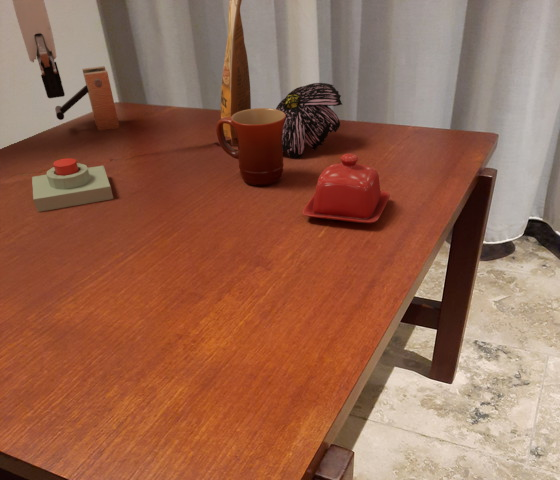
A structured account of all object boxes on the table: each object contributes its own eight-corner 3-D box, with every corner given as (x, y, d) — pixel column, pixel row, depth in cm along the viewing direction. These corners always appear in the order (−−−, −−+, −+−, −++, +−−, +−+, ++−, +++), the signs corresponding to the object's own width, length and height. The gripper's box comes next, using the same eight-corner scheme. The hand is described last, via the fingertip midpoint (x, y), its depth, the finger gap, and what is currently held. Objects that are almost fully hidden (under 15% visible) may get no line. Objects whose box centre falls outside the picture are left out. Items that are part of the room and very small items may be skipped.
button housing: (37, 212, 88) (29, 188, 85) (36, 189, 95) (28, 166, 92) (113, 199, 91) (107, 175, 88) (106, 177, 98) (100, 154, 95)
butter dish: (321, 192, 90) (321, 138, 84) (391, 199, 87) (397, 144, 81) (299, 222, 82) (298, 165, 76) (375, 232, 79) (381, 173, 73)
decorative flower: (247, 88, 103) (322, 55, 102) (263, 139, 113) (332, 110, 112) (269, 133, 95) (350, 98, 94) (285, 184, 105) (358, 152, 104)
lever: (62, 123, 111) (52, 113, 109) (60, 116, 114) (51, 106, 113) (108, 83, 109) (99, 72, 108) (105, 78, 113) (96, 67, 111)
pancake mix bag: (258, 117, 121) (249, -42, 102) (254, 148, 106) (242, -31, 88) (228, 118, 121) (213, -41, 103) (219, 149, 107) (200, -30, 88)
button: (57, 178, 89) (53, 167, 88) (55, 170, 91) (52, 160, 90) (79, 174, 90) (76, 164, 89) (78, 167, 92) (75, 156, 91)
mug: (295, 172, 96) (293, 110, 90) (276, 192, 90) (273, 126, 84) (233, 165, 100) (227, 104, 93) (210, 183, 94) (203, 120, 87)
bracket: (81, 143, 112) (64, 79, 104) (77, 129, 119) (61, 68, 111) (140, 134, 115) (128, 71, 107) (133, 121, 122) (121, 61, 114)
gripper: (3, -18, 103) (34, 83, 114) (1, -7, 91) (36, 105, 102) (44, -22, 105) (71, 78, 116) (48, -11, 92) (78, 99, 104)
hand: (55, 90), depth 109 cm, fingers open, 9 cm apart
